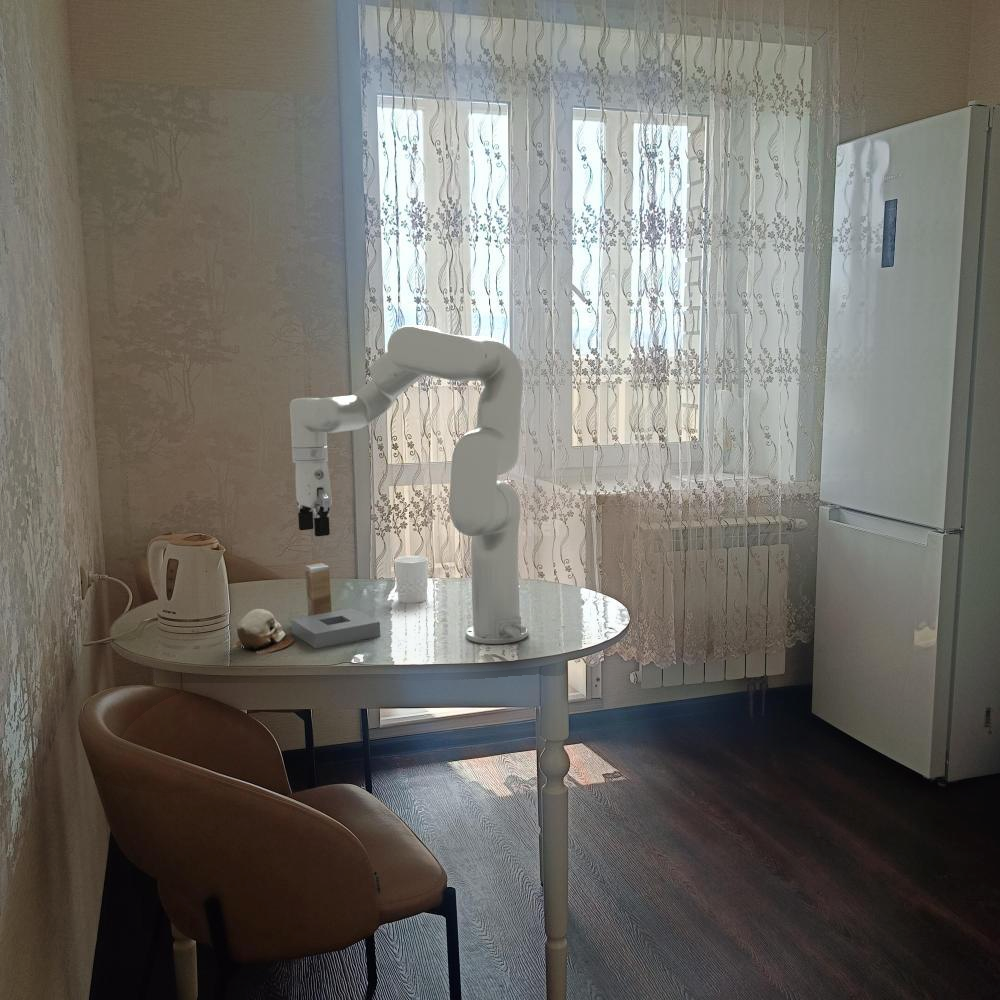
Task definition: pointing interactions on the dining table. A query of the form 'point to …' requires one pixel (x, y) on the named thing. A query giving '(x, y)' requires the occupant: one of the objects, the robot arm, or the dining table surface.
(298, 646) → the dining table surface
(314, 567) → the peg
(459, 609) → the dining table surface
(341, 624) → the socket
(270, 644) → the skull
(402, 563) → the white cup
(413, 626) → the dining table surface
